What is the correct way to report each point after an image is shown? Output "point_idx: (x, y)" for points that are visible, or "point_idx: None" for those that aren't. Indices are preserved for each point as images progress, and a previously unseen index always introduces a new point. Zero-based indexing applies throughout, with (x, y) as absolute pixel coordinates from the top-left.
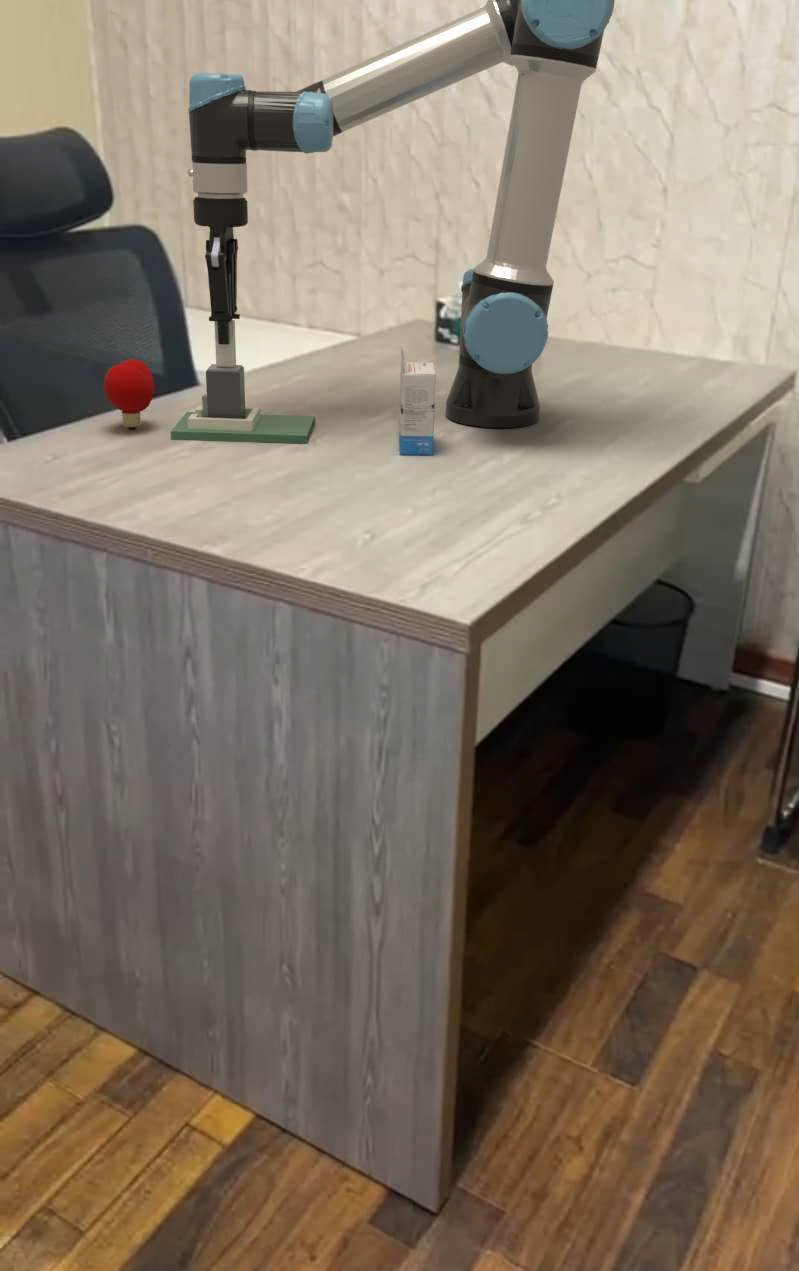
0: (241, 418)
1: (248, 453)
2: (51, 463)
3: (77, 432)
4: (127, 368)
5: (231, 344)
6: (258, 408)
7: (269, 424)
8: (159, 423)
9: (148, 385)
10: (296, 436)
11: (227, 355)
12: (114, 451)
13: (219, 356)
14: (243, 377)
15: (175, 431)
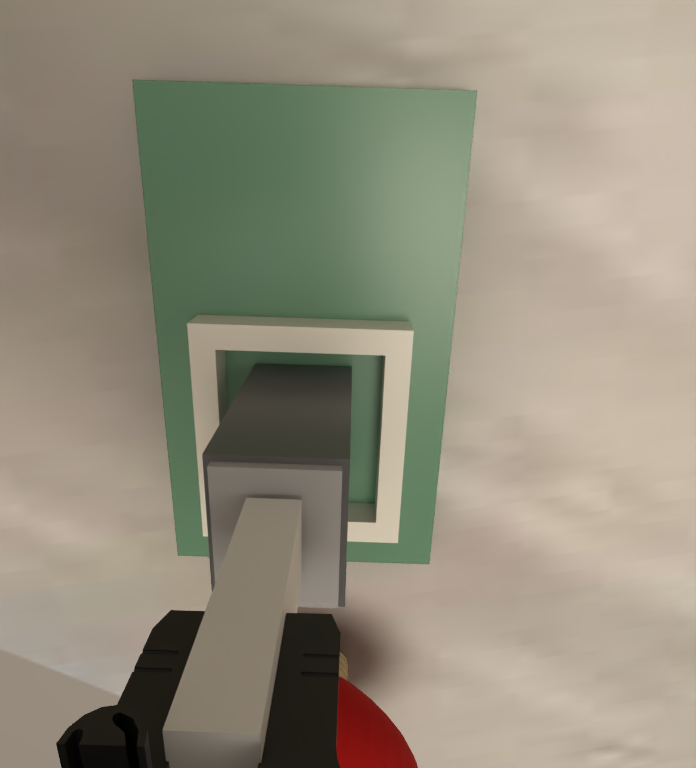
0: (345, 375)
1: (593, 306)
2: (652, 746)
3: None
4: None
5: (286, 596)
6: (207, 328)
7: (309, 267)
8: None
9: (343, 734)
10: (470, 137)
11: (294, 570)
12: (552, 652)
13: (295, 603)
14: (242, 432)
15: (430, 551)
